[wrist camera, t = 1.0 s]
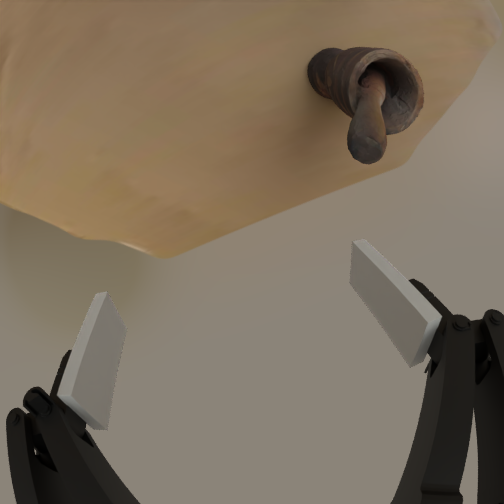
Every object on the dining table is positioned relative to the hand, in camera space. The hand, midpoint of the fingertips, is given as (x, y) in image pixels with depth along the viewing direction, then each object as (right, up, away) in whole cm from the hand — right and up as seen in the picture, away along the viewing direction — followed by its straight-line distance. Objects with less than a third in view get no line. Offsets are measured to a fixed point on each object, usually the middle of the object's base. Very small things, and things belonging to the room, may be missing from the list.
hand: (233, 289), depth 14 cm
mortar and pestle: (+10, +24, +16) cm, 30 cm away
